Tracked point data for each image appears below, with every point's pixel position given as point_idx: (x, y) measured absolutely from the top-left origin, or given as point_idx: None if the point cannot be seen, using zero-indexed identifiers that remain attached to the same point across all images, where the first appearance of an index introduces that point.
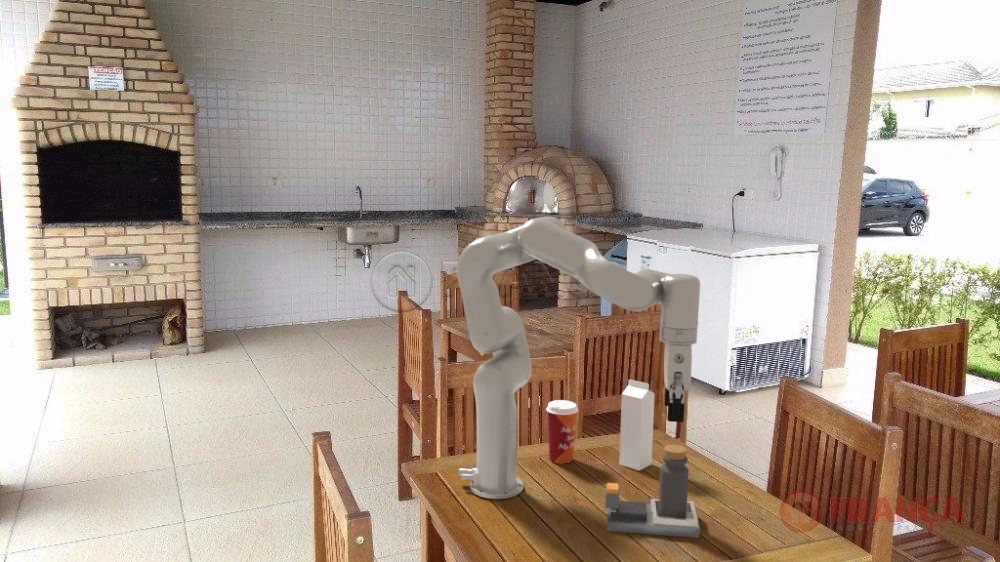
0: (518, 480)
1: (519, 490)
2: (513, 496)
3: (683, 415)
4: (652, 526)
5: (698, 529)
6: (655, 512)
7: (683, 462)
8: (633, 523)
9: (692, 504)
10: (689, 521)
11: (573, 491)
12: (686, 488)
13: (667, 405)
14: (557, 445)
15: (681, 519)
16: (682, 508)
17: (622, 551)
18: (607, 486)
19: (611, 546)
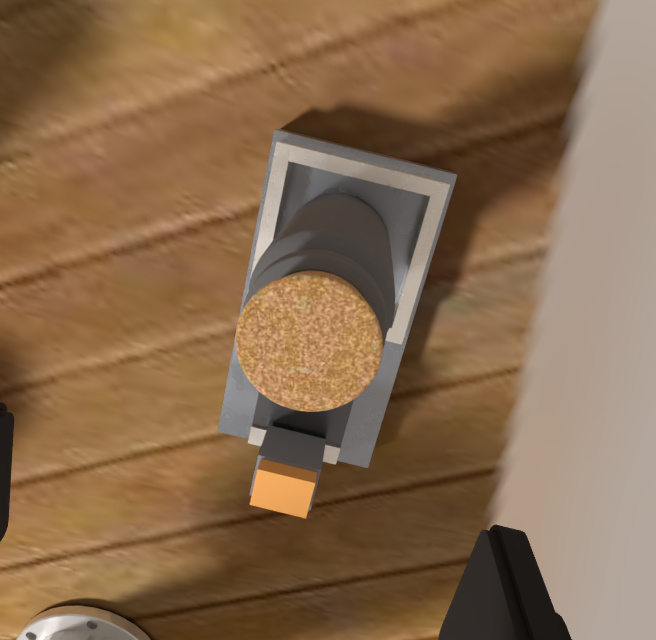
0: (59, 623)
1: (124, 628)
2: (147, 636)
3: (545, 586)
4: (407, 336)
5: (455, 180)
6: None
7: (382, 296)
8: (387, 394)
9: (302, 155)
10: (439, 215)
11: (95, 481)
12: (375, 232)
13: (4, 516)
14: None
15: (428, 245)
16: (386, 233)
17: (497, 440)
18: (282, 511)
19: (463, 461)
